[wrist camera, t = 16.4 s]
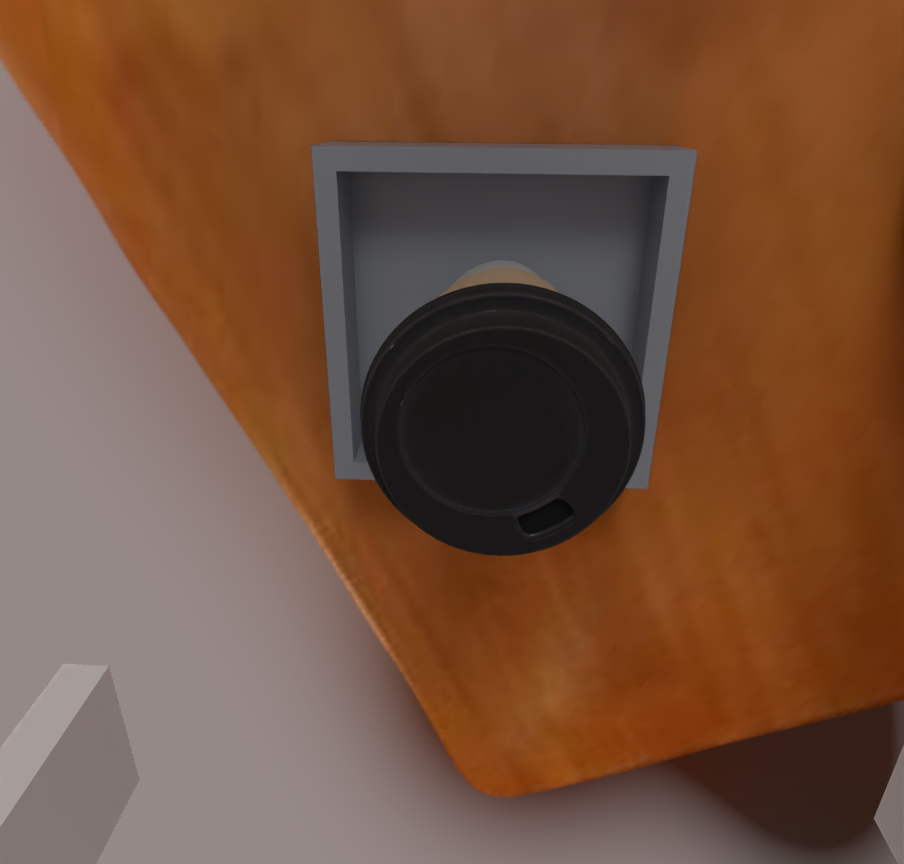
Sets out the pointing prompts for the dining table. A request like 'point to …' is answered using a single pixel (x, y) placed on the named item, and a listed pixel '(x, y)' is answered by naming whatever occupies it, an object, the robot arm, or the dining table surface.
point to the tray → (495, 247)
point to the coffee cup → (502, 414)
